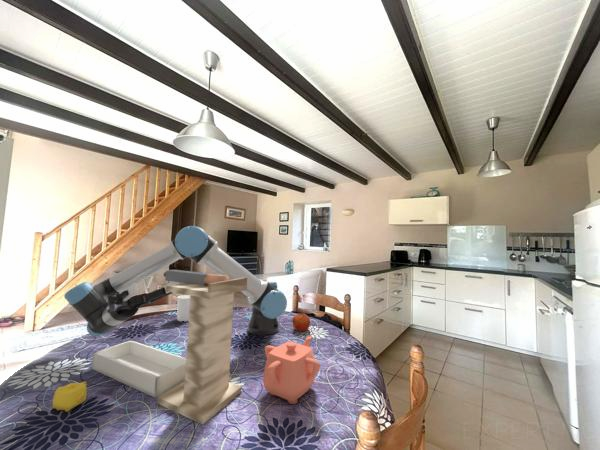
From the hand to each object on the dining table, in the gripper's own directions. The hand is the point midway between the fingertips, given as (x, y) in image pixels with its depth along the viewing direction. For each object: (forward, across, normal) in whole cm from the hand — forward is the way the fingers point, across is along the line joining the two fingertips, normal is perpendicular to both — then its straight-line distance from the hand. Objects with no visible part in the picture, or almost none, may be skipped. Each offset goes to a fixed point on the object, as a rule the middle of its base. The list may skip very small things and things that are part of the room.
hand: (158, 284), depth 75 cm
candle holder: (-48, -44, -5) cm, 65 cm away
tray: (-19, 0, -22) cm, 29 cm away
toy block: (-19, +17, -22) cm, 34 cm away
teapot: (+20, -15, -45) cm, 52 cm away
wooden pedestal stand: (+3, -1, -35) cm, 35 cm away
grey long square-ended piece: (+14, 0, -6) cm, 15 cm away
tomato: (+5, -61, -36) cm, 71 cm away
